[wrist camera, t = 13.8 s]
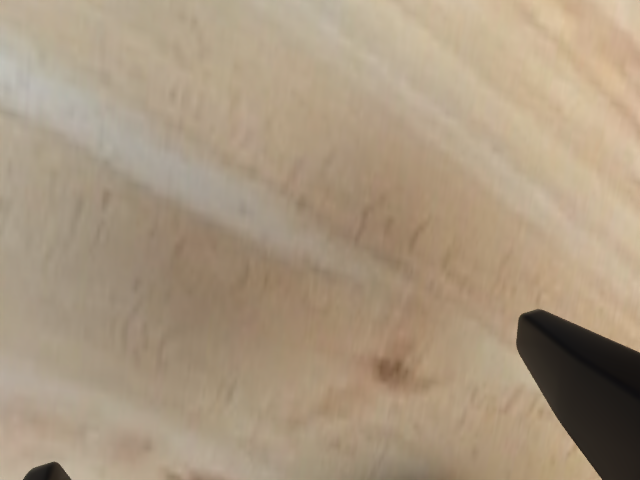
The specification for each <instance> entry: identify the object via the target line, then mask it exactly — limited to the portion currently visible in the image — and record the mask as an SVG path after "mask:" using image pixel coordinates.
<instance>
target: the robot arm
mask: <svg viewBox="0 0 640 480" xmlns="http://www.w3.org/2000/svg"><path fill="white" fill-rule="evenodd" d="M516 345H517V350H518V352H519V354H520V356H521V358H522V360H523V361H524V363H525V365H526V366H527V368H528V370H529V371H530V373H531V375H532V377H533V378H534V380H535V382H536V383H537V385H538V387H539V388H540V390H541V392H542V393H543V395H544V397H545V399H546V400H547V402H548V404H549V405H550V407H551V409H552V410H553V412H554V414H555V415H556V417H557V418H558V420H559V421H560V423H561V424H562V426H563V427H564V428H565V430H566V431H567V433H568V434H569V435H570V437H571V438H572V439H573V441H574V442H575V443H576V445H577V446H578V447H579V449H580V450H581V451H582V453H583V454H584V456H585V457H586V458H587V460H588V461H589V462H590V464H591V465H592V466H593V468H594V469H595V470H596V472H597V473H598V474H599V476H600V477H601V479H602V480H640V353H639V352H637V351H635V350H633V349H630V348H628V347H626V346H623V345H621V344H619V343H617V342H614V341H612V340H610V339H608V338H605V337H603V336H601V335H599V334H596V333H594V332H592V331H589V330H587V329H585V328H583V327H580V326H578V325H576V324H574V323H571V322H569V321H567V320H565V319H562V318H560V317H558V316H555V315H553V314H551V313H549V312H546V311H544V310H540V309H537V310H533V311H530V312H527V313H523V314H522V315H521V316H520V317H519V320H518V330H517V340H516ZM23 480H71V479H70V477H69V476H68V475H67V473H66V472H65V471H64V469H63V468H62V467H61V465H60V464H59V463H56V462H51V463H48V464H44V465H41V466H38V467H35V468H33V469H31V470H30V471H29V472H28V473H27V475H26V476H25V477H24V479H23Z"/></svg>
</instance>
